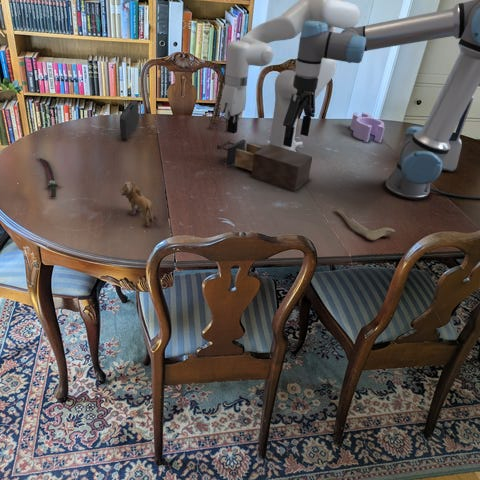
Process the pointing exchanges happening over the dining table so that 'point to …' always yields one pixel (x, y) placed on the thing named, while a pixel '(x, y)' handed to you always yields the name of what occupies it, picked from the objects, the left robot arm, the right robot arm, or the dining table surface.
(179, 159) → the dining table surface
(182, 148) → the dining table surface
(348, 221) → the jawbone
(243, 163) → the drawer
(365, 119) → the clip
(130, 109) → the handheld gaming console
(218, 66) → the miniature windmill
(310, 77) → the right robot arm
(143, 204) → the lion figurine
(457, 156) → the electronic device
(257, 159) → the dark wooden block
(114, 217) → the dining table surface
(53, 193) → the sword
